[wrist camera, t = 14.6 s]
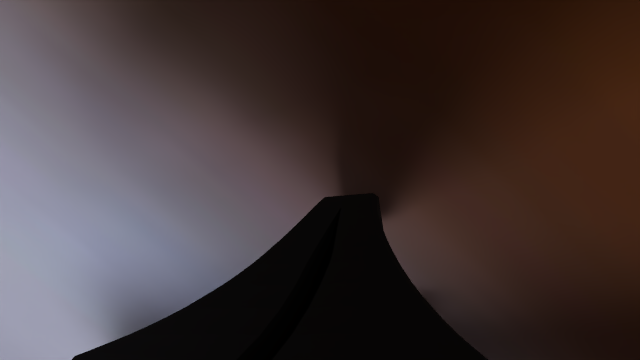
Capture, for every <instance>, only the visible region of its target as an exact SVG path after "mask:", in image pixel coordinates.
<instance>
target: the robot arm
mask: <svg viewBox="0 0 640 360" xmlns="http://www.w3.org/2000/svg"><path fill="white" fill-rule="evenodd" d="M72 360H488V359H487V358H485V357H484V356H483V355H482V354H480V353H479V352H478V351H477V350H476V349H474V348H473V347H472V346H471V345H470V344H469V343H467V342H466V341H465V340H464V339H463V338H462V337H461V336H459V335H458V334H457V333H456V332H455V331H454V330H453V329H452V328H451V327H450V326H449V325H448V324H447V323H446V322H445V321H444V320H443V319H442V318H441V317H440V316H439V315H438V313H437V312H436V311H435V310H434V309H433V308H432V307H431V305H430V304H429V303H428V302H427V301H426V300H425V299H424V298H423V296H422V295H421V294H420V293H419V291H418V290H417V289H416V287H415V286H414V285H413V283H412V282H411V281H410V279H409V278H408V276H407V275H406V273H405V272H404V270H403V269H402V267H401V265H400V264H399V262H398V260H397V258H396V257H395V255H394V253H393V251H392V249H391V247H390V245H389V243H388V241H387V238H386V236H385V233H384V231H383V225H382V218H381V211H380V205H379V198H378V197H377V196H376V195H375V194H374V193H370V194H358V195H345V196H333V197H325V198H323V199H322V200H321V201H320V202H319V203H318V204H317V205H316V206H315V207H314V208H313V209H312V210H311V211H310V212H309V213H308V214H307V215H306V216H305V217H304V218H303V219H302V220H301V221H300V222H299V223H298V224H297V225H296V226H295V227H294V228H293V229H292V230H290V231H289V232H288V233H287V234H286V235H285V236H284V237H283V238H282V239H281V240H280V241H279V242H277V243H276V244H275V245H274V246H273V247H272V248H270V249H269V250H268V251H267V252H266V253H265V254H264V255H262V256H261V257H260V258H259V259H258V260H256V261H255V262H254V263H253V264H251V265H250V266H249V267H247V268H246V269H245V270H244V271H242V272H241V273H239V274H238V275H236V276H235V277H234V278H232V279H231V280H229V281H228V282H226V283H225V284H223V285H222V286H220V287H219V288H217V289H215V290H214V291H212V292H210V293H209V294H207V295H205V296H204V297H202V298H200V299H199V300H197V301H195V302H194V303H192V304H190V305H189V306H187V307H185V308H183V309H181V310H179V311H178V312H176V313H174V314H172V315H170V316H168V317H166V318H164V319H162V320H160V321H158V322H156V323H154V324H151V325H149V326H147V327H145V328H143V329H141V330H139V331H136V332H134V333H132V334H130V335H127V336H125V337H122V338H120V339H117V340H115V341H112V342H110V343H107V344H105V345H102V346H100V347H97V348H95V349H92V350H90V351H87V352H85V353H82V354H79V355H76V356H75V357H74V358H73V359H72Z"/></svg>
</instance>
